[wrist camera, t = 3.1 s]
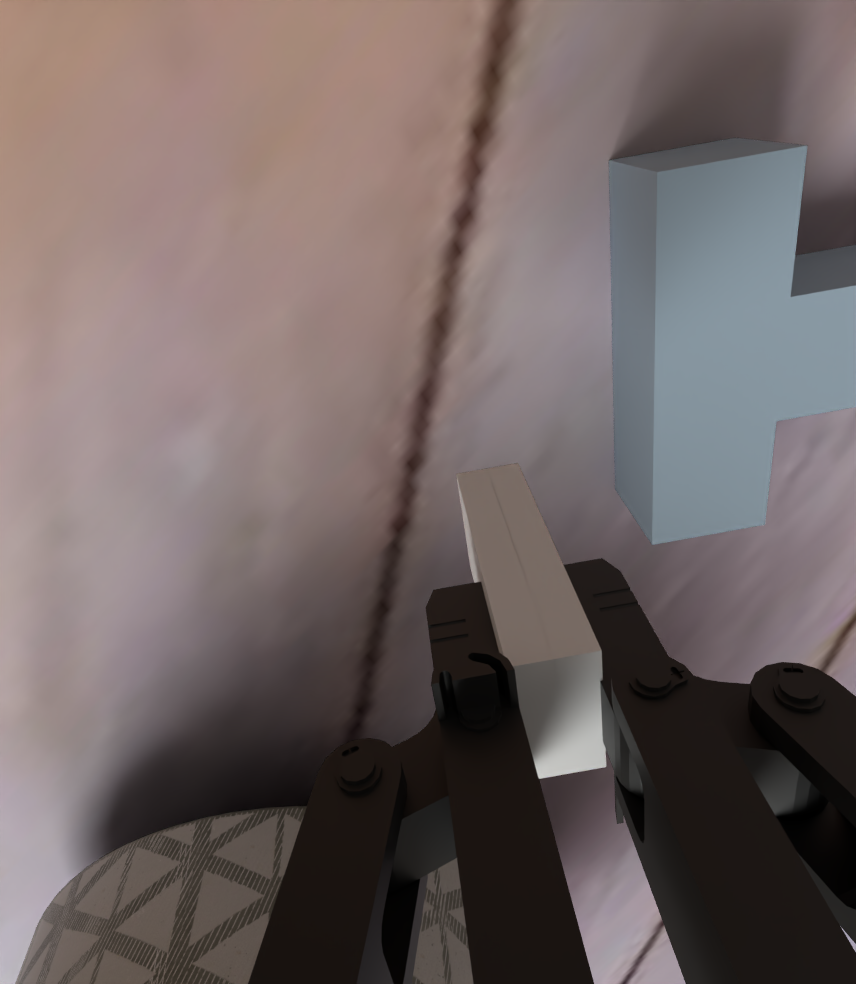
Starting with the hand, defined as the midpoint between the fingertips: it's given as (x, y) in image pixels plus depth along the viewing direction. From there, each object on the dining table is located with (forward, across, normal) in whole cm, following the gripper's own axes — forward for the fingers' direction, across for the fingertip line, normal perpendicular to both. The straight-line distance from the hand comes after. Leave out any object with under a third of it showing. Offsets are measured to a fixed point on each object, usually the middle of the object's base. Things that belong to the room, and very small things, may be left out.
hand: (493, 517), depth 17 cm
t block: (+9, +12, +1) cm, 15 cm away
